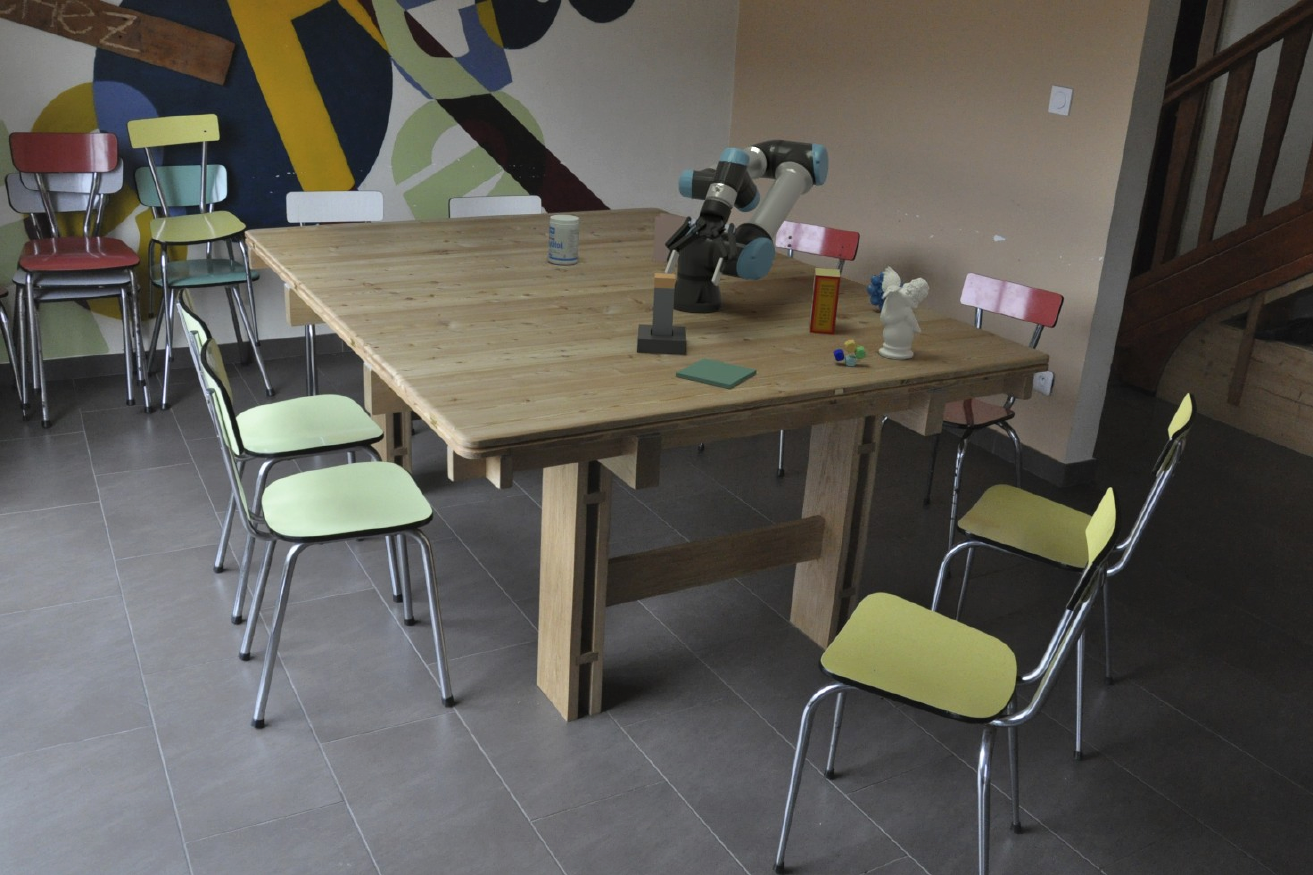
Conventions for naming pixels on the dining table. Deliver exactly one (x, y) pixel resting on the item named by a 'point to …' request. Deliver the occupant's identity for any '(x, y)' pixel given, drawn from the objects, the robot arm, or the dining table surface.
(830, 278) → the baking soda box
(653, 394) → the dining table surface
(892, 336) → the cherub figurine
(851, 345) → the dice
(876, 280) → the grapes
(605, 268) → the dining table surface
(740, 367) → the mat
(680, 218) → the greeting card
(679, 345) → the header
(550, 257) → the supplement tub
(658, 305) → the plug
